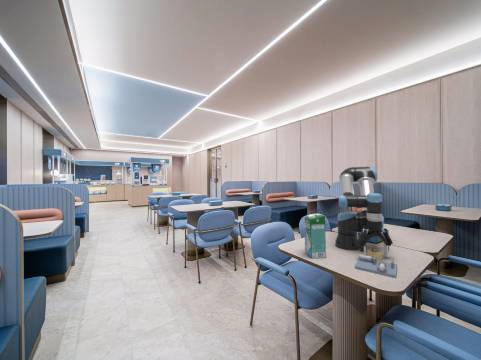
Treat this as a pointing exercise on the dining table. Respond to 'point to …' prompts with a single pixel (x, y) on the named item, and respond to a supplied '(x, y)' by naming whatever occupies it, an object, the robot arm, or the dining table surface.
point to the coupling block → (374, 253)
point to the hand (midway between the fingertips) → (374, 257)
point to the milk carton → (315, 236)
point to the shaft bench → (376, 266)
